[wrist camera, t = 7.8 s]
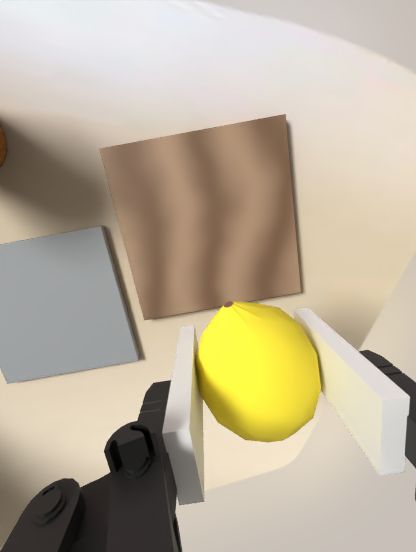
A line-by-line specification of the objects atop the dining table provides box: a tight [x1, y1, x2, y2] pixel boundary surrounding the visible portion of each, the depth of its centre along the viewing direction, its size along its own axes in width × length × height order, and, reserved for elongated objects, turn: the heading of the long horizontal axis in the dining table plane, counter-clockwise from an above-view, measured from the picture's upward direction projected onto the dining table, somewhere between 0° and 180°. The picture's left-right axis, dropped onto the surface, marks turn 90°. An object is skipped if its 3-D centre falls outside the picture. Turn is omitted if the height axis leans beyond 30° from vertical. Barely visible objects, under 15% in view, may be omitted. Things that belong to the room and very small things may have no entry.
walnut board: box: [100, 114, 301, 320], centre depth 26 cm, size 18×18×1 cm
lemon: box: [195, 301, 321, 442], centre depth 11 cm, size 7×5×5 cm
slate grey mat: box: [0, 226, 140, 384], centre depth 28 cm, size 16×16×1 cm
